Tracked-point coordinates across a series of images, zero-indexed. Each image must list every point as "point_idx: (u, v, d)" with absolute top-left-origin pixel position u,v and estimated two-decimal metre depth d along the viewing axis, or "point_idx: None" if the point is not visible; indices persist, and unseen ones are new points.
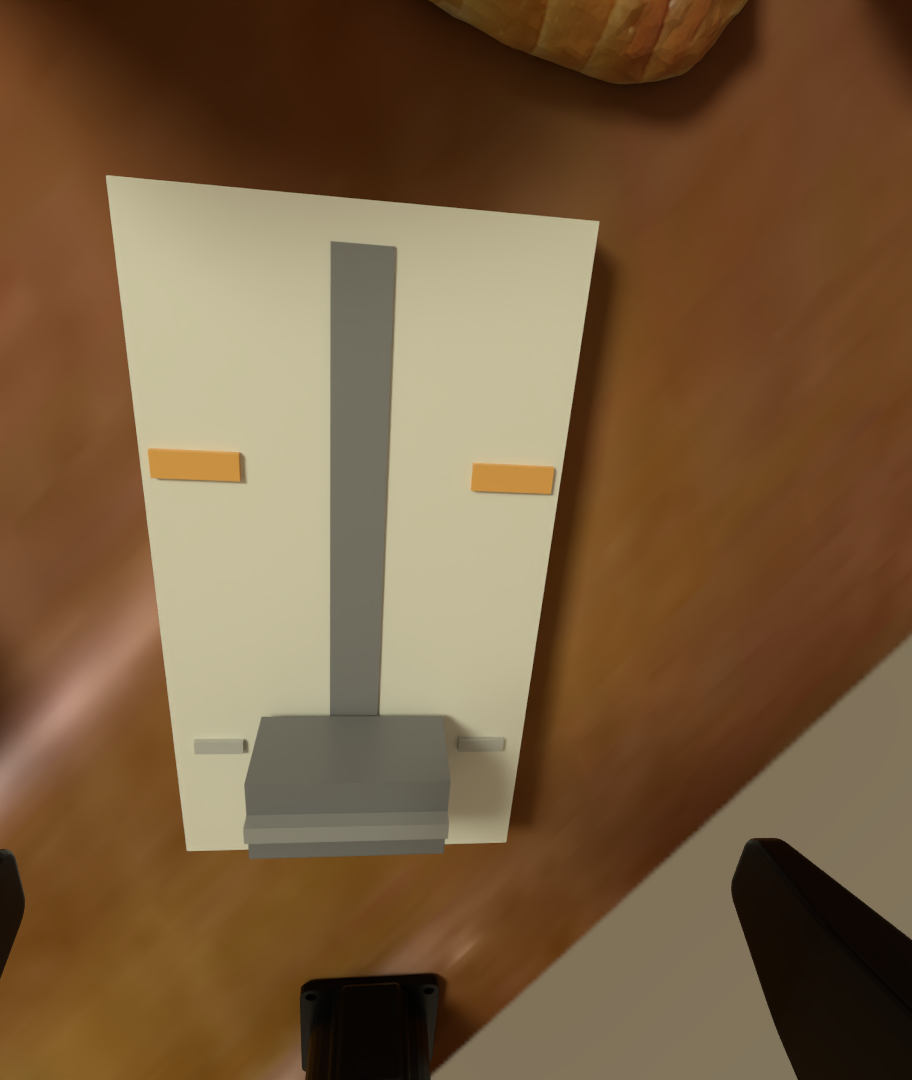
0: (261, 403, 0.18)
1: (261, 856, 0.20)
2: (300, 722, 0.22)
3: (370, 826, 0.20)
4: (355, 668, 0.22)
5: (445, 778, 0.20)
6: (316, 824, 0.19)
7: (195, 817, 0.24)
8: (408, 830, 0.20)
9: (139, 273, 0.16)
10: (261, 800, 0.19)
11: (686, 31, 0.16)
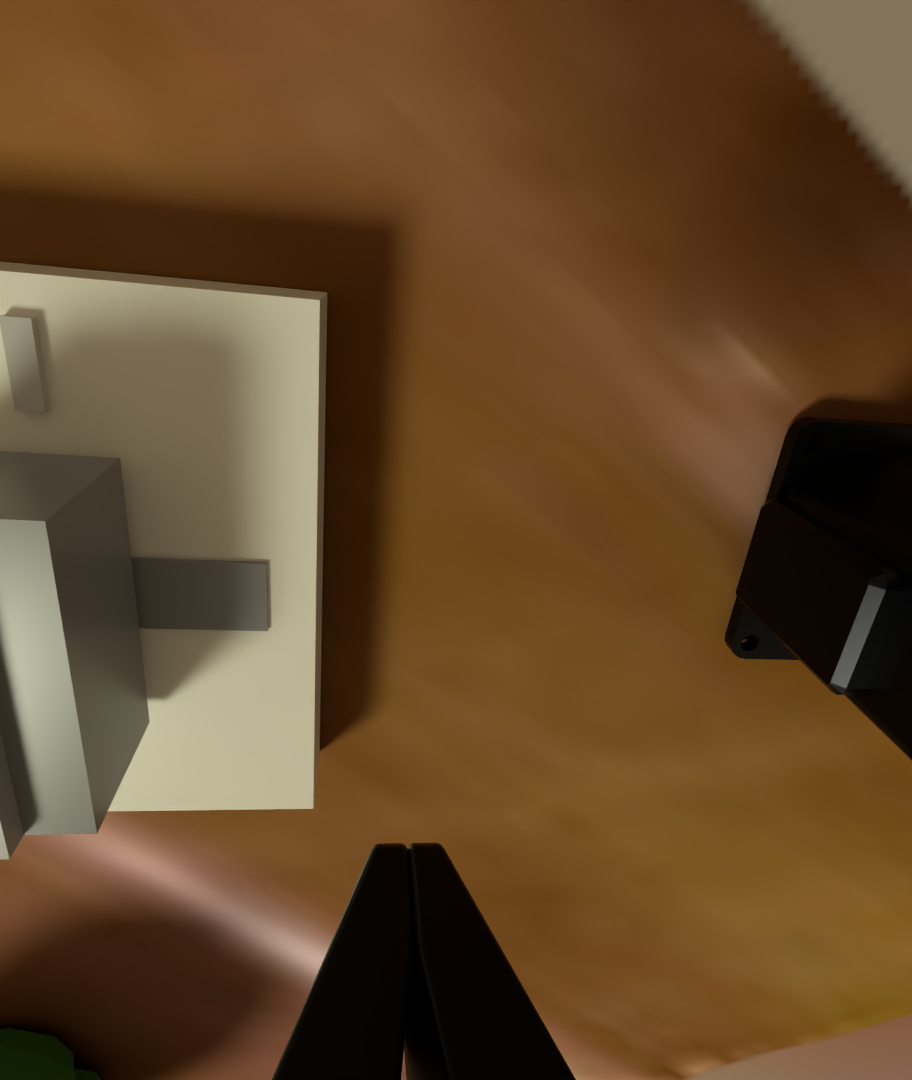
0: None
1: (88, 818, 0.12)
2: None
3: None
4: None
5: None
6: None
7: (243, 796, 0.16)
8: None
9: None
10: None
11: None
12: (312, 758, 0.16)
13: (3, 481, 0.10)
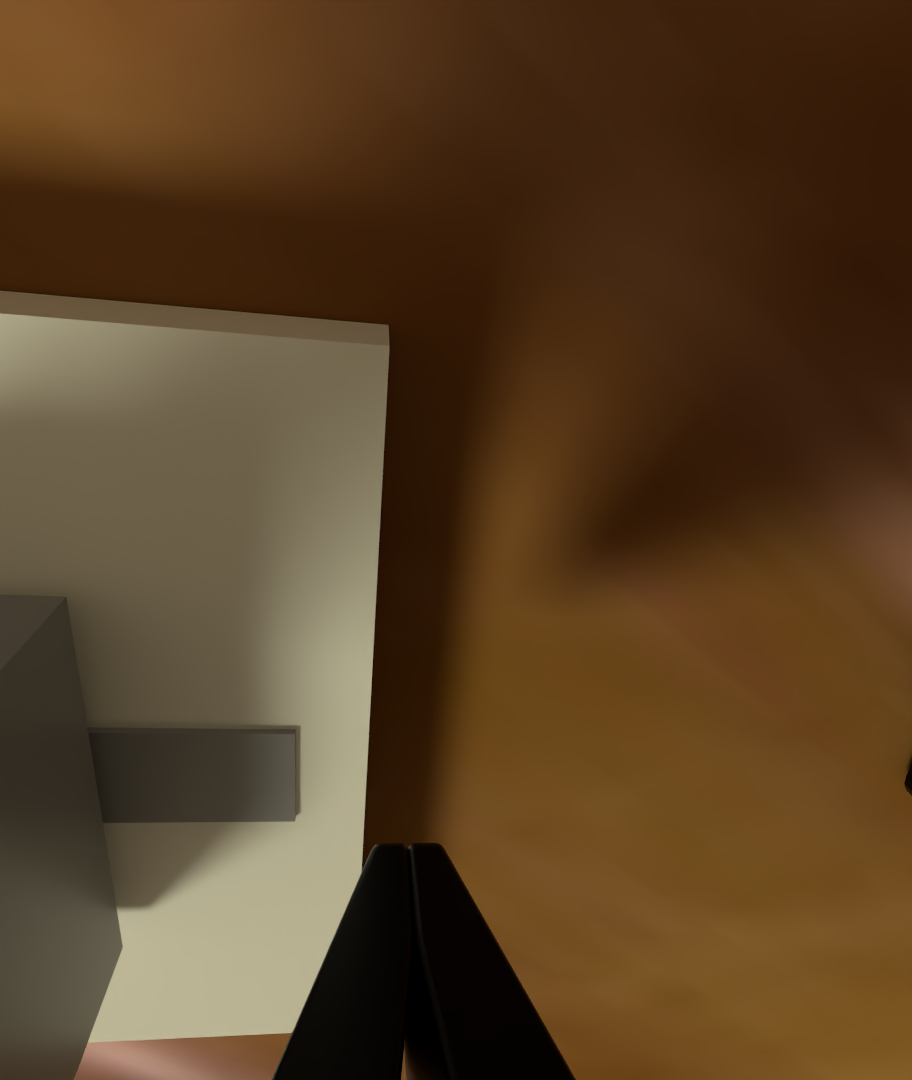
0: None
1: None
2: None
3: None
4: None
5: None
6: None
7: (257, 1019, 0.12)
8: None
9: None
10: None
11: None
12: None
13: None
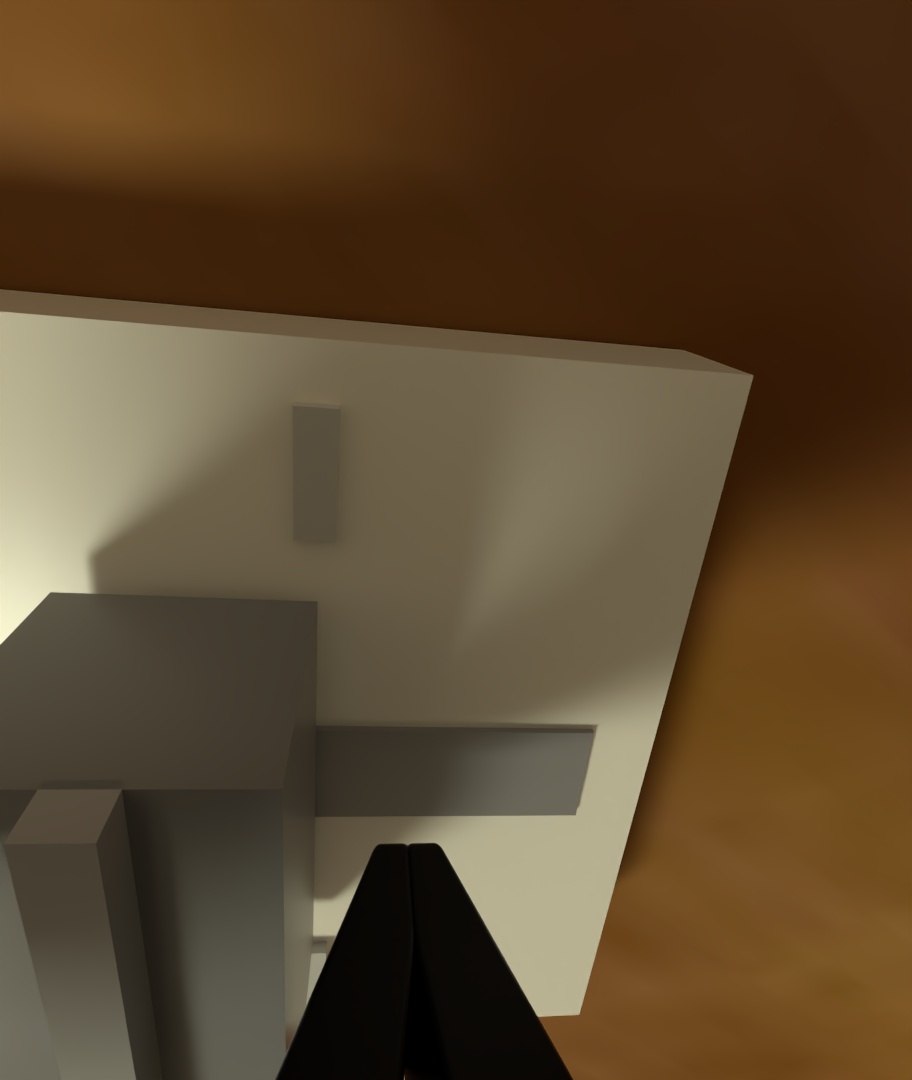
0: None
1: None
2: None
3: (55, 1050, 0.05)
4: None
5: None
6: None
7: None
8: (64, 957, 0.05)
9: None
10: None
11: None
12: (593, 959, 0.12)
13: (172, 674, 0.06)
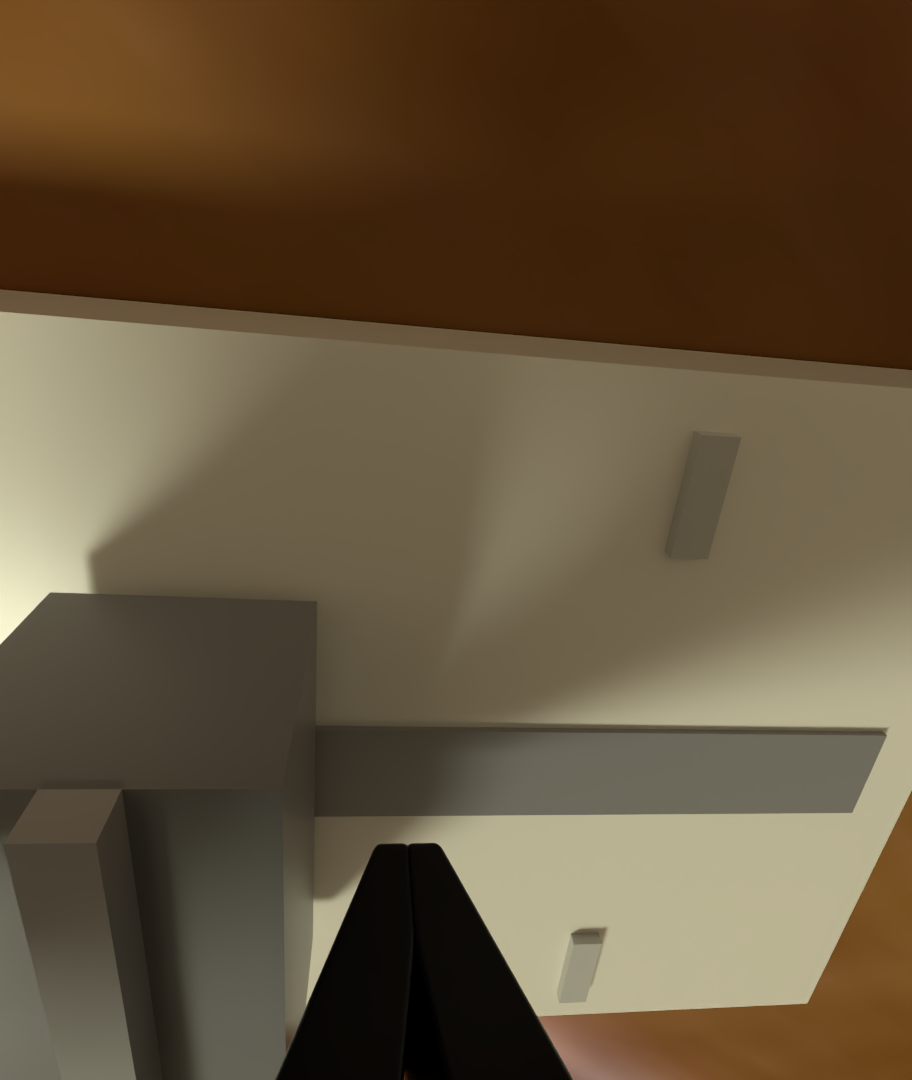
0: None
1: None
2: None
3: (54, 1051, 0.05)
4: (421, 768, 0.10)
5: None
6: None
7: (734, 993, 0.13)
8: (64, 957, 0.05)
9: None
10: None
11: None
12: (832, 950, 0.12)
13: (172, 674, 0.06)
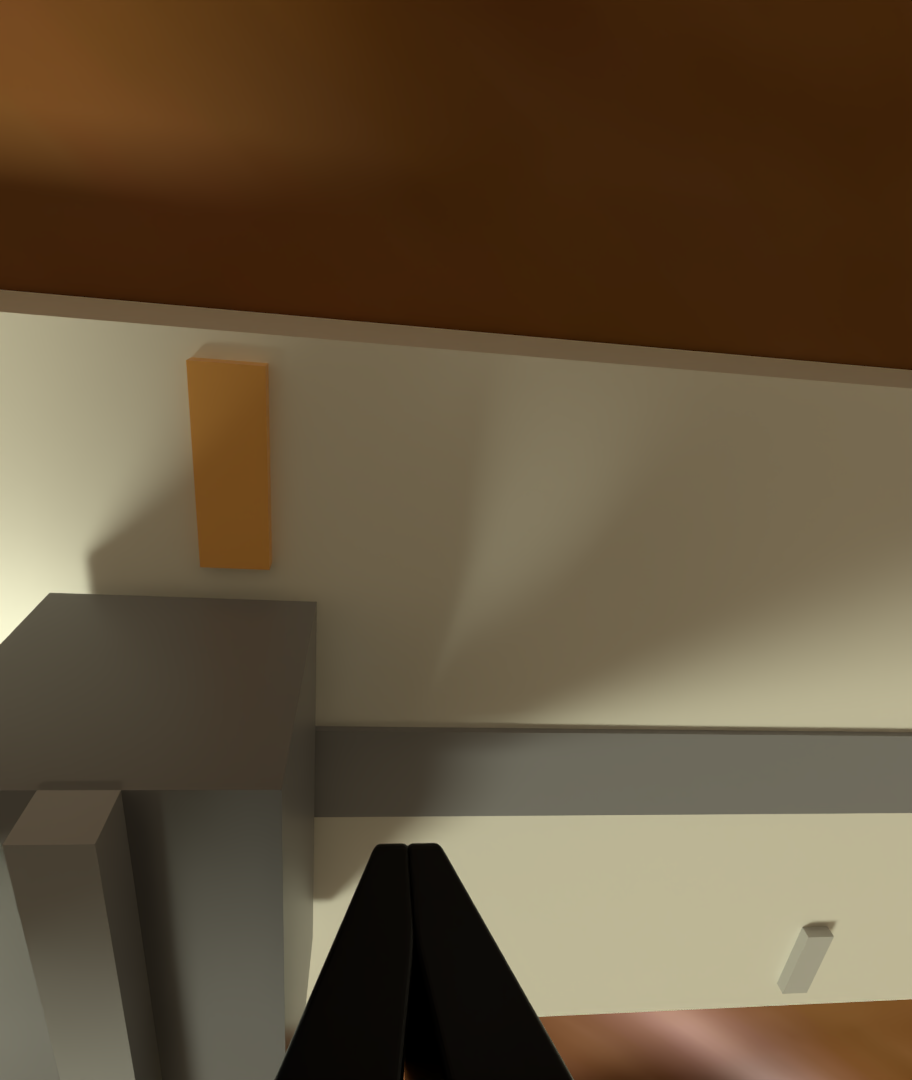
0: None
1: None
2: None
3: (54, 1051, 0.05)
4: (702, 769, 0.10)
5: None
6: None
7: None
8: (63, 958, 0.05)
9: None
10: None
11: None
12: None
13: (172, 674, 0.06)
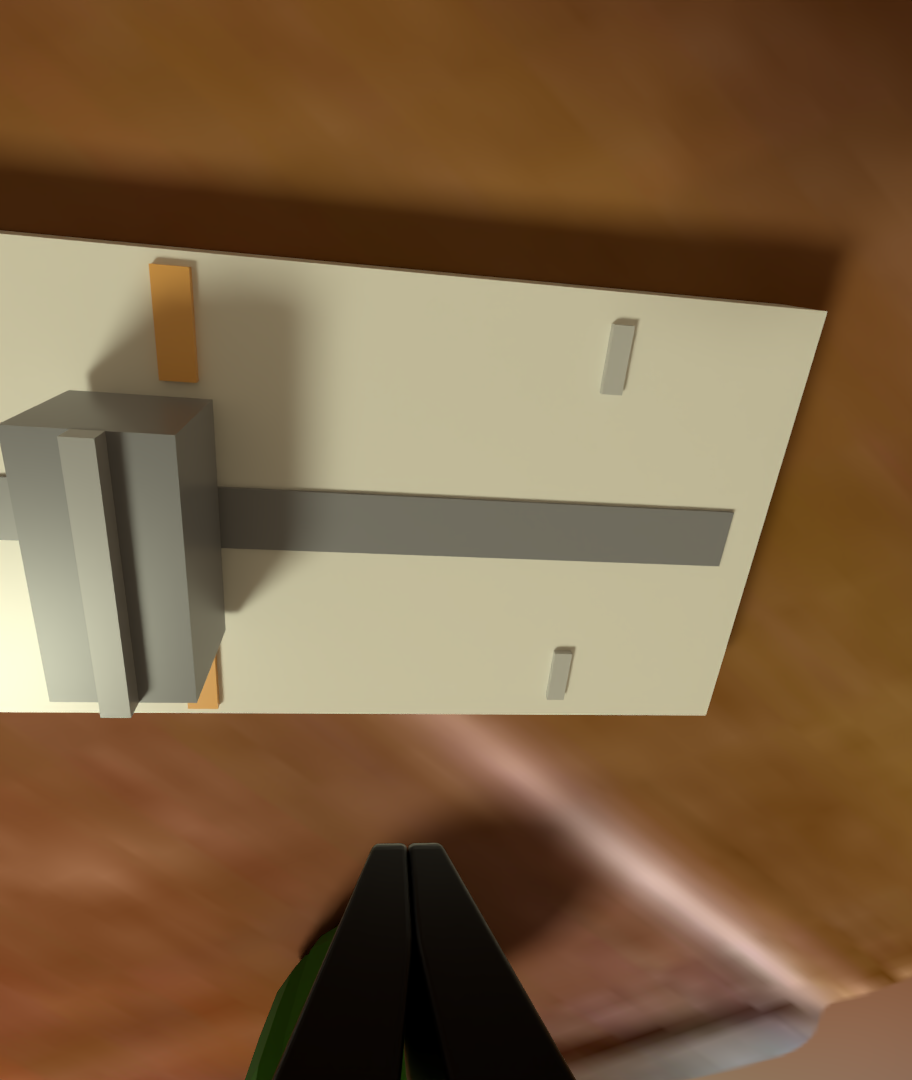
0: None
1: (191, 689, 0.14)
2: None
3: (76, 560, 0.12)
4: (466, 526, 0.17)
5: (1, 431, 0.12)
6: (88, 629, 0.13)
7: (658, 703, 0.20)
8: (81, 502, 0.12)
9: (14, 696, 0.18)
10: (77, 684, 0.14)
11: None
12: (718, 672, 0.20)
13: (130, 411, 0.13)
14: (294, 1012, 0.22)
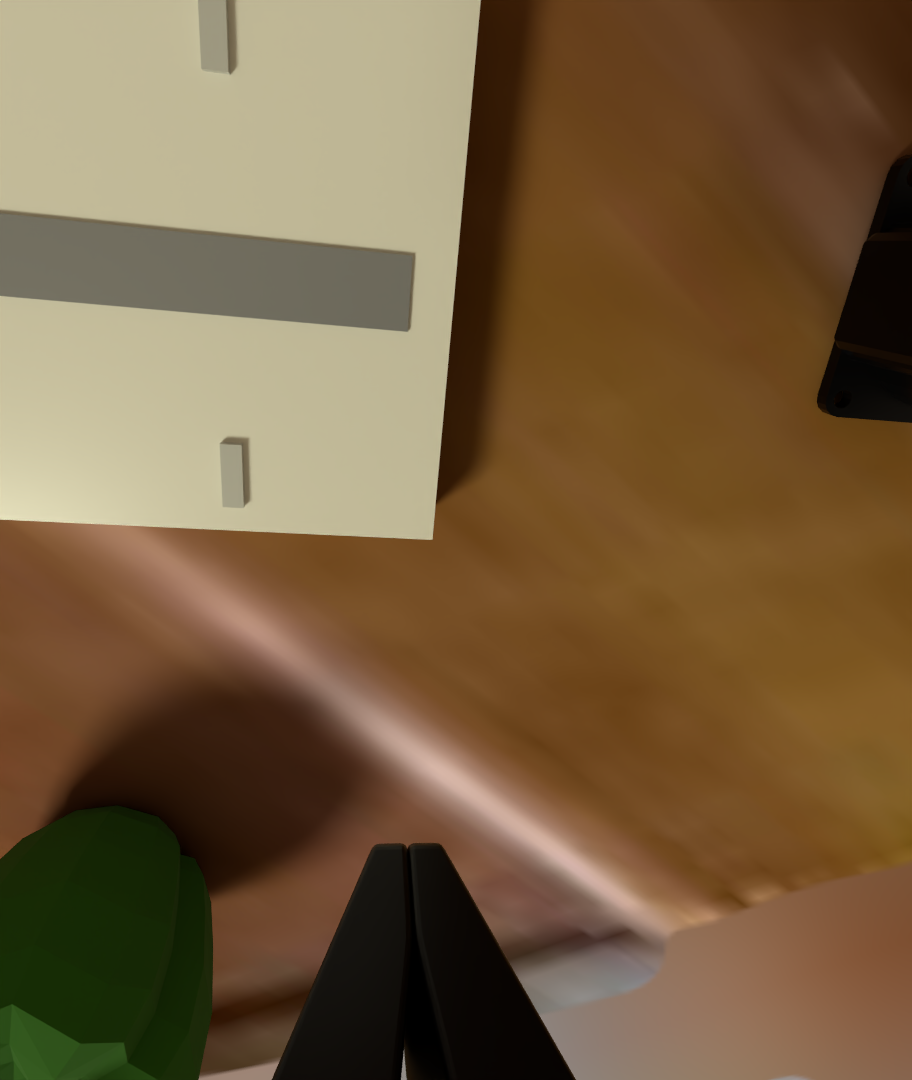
0: None
1: None
2: None
3: None
4: (69, 260, 0.14)
5: None
6: None
7: (369, 521, 0.17)
8: None
9: None
10: None
11: None
12: (436, 481, 0.17)
13: None
14: None
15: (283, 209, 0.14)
